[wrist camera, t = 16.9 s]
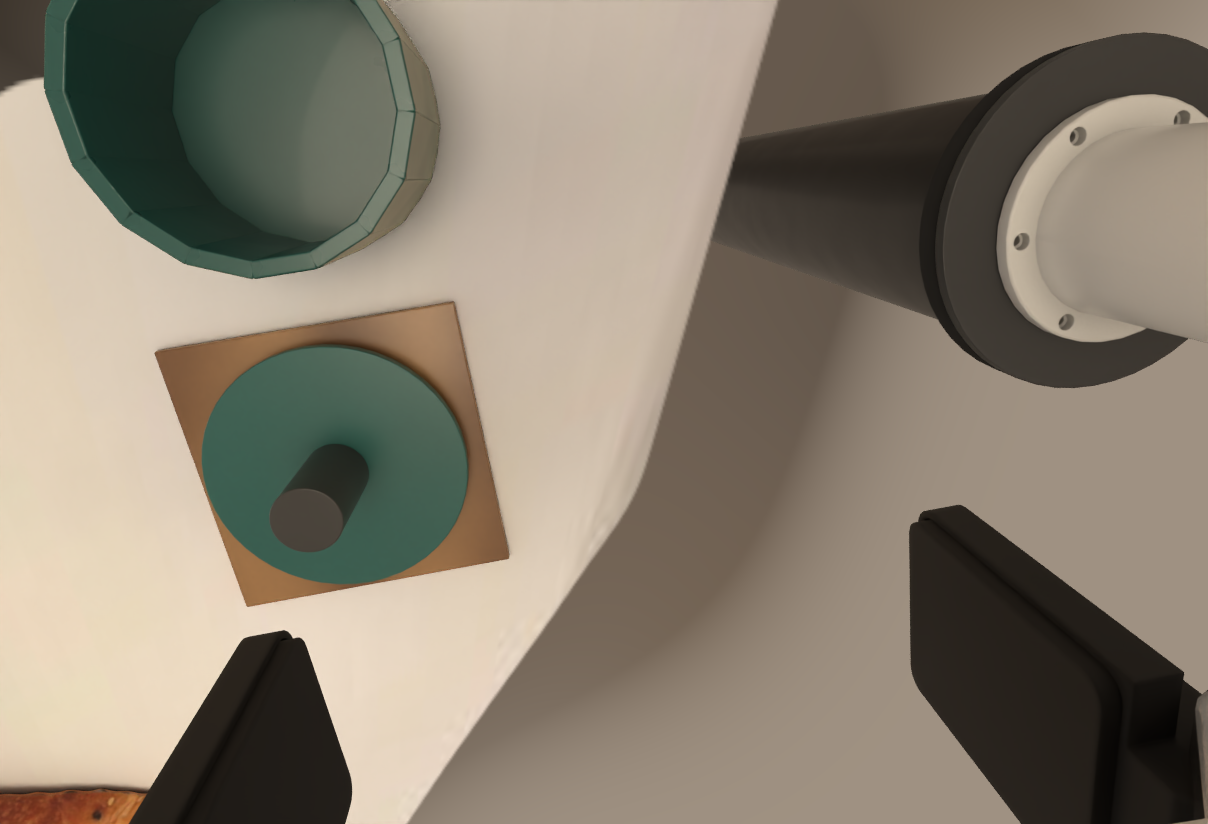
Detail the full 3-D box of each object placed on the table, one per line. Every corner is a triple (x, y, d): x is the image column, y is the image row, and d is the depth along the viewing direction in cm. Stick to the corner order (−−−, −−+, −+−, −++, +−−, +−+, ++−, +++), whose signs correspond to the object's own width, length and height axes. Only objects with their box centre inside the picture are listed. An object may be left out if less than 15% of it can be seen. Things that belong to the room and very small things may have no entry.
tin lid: (439, 321, 37) (421, 351, 30) (491, 549, 41) (485, 619, 34) (173, 365, 36) (97, 406, 30) (255, 592, 40) (203, 672, 34)
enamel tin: (405, -51, 32) (364, -128, 24) (463, 232, 36) (445, 248, 28) (121, -12, 31) (-19, -77, 23) (213, 272, 35) (120, 300, 27)
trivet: (454, 301, 37) (453, 302, 36) (509, 554, 42) (509, 559, 41) (158, 349, 36) (153, 352, 36) (249, 602, 41) (246, 607, 40)
